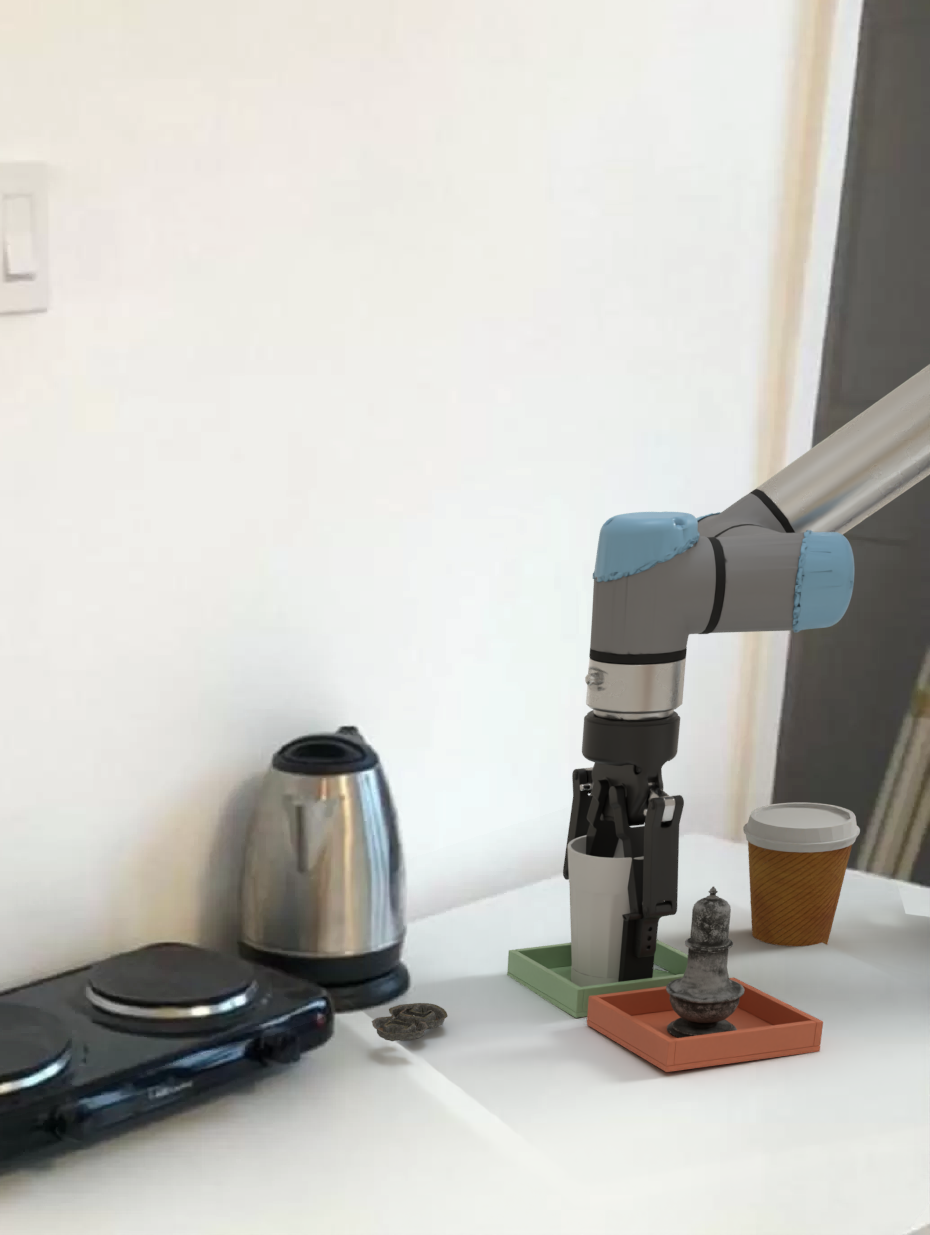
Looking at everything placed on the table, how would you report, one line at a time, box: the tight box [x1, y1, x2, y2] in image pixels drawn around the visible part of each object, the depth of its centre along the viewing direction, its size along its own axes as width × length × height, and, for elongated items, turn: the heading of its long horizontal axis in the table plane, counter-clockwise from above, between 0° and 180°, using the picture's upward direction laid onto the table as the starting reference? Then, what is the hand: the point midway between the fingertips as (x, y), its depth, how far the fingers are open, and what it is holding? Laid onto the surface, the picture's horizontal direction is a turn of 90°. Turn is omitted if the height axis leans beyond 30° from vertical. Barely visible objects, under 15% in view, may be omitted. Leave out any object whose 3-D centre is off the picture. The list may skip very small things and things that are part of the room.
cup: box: [567, 835, 644, 987], centre depth 174 cm, size 8×8×12 cm
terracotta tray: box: [586, 977, 824, 1073], centre depth 163 cm, size 13×12×2 cm
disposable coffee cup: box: [742, 801, 861, 947], centre depth 182 cm, size 10×10×12 cm
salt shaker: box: [666, 886, 745, 1038], centre depth 161 cm, size 6×6×12 cm
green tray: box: [506, 938, 688, 1019], centre depth 176 cm, size 13×12×2 cm
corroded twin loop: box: [371, 1002, 448, 1042], centre depth 169 cm, size 5×8×1 cm, turn 140°
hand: (610, 977), depth 176 cm, fingers closed on cup, 7 cm apart
